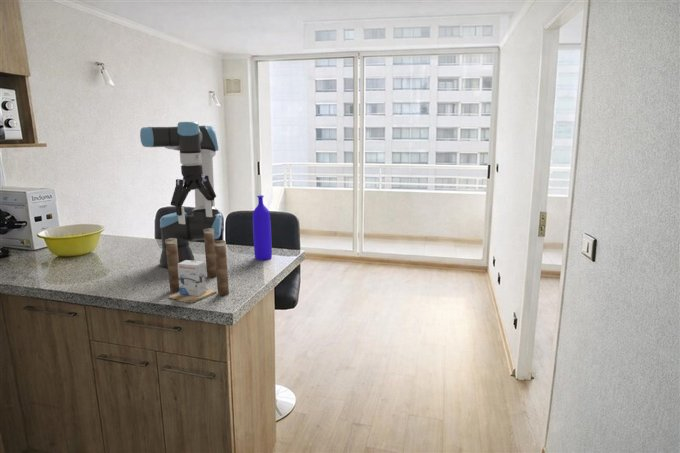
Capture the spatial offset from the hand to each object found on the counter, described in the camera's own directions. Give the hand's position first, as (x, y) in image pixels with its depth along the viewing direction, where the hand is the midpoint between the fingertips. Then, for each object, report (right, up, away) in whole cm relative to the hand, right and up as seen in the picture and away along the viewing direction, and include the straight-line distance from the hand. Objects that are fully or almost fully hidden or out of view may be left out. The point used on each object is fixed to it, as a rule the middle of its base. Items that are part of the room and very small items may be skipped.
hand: (196, 220), depth 170 cm
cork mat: (+1, -28, -6) cm, 29 cm away
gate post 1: (-8, -27, -1) cm, 28 cm away
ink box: (+1, -27, -6) cm, 28 cm away
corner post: (+12, -27, -5) cm, 30 cm away
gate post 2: (+2, -23, +15) cm, 28 cm away
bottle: (+19, -18, +41) cm, 49 cm away
